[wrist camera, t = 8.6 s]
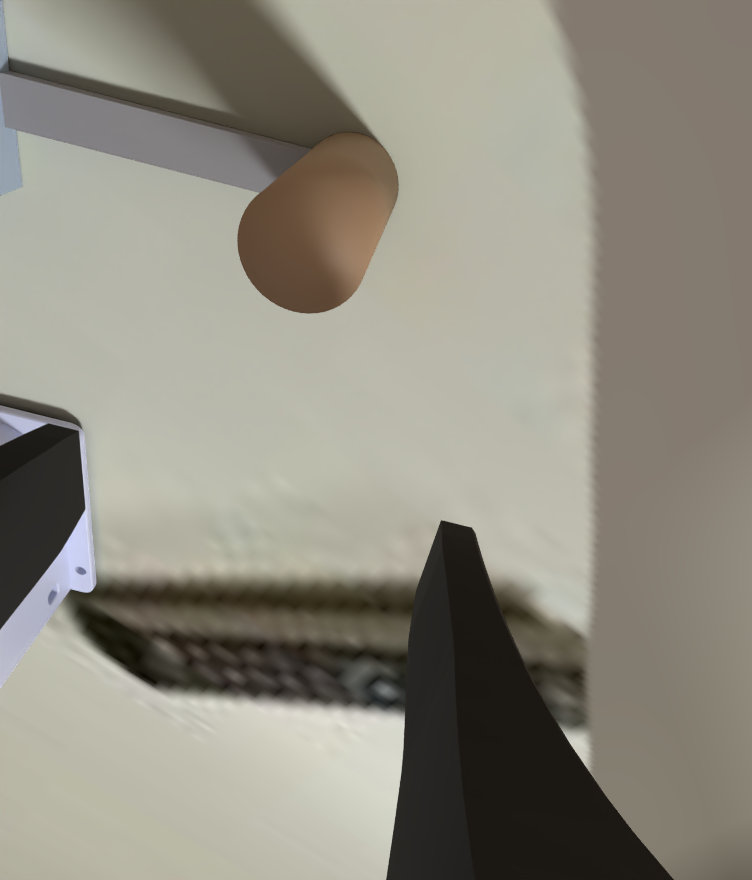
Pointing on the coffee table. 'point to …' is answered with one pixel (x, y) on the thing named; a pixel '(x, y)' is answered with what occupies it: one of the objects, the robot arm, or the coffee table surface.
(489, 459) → the coffee table surface
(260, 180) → the block with pull
